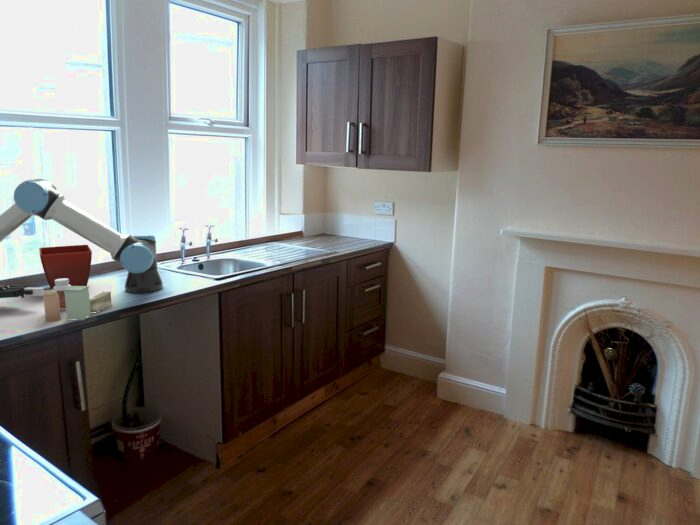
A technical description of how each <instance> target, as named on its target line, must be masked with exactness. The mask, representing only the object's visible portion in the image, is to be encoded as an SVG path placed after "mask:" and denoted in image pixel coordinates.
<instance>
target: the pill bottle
mask: <svg viewBox="0 0 700 525" xmlns="http://www.w3.org/2000/svg"><path fill="white" fill-rule="evenodd" d="M68 283H69V279H68V278H61V279H56V280H55V284H56V286H54V287H53V290H57V293H58V296H59V306H60V311H66V303H65V293H64V290H65V289H67V288H69V287H71V285H69V284H68Z"/></svg>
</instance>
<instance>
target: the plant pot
mask: <svg viewBox="0 0 700 525" xmlns="http://www.w3.org/2000/svg"><path fill="white" fill-rule="evenodd" d="M38 249H39V259H40V262H41V265H42V269H43V272H44V276H45V279H46V280H47V284H48V286H49V288H50V290H53V287H54V286H56V284H55V280H56V279H61V278H68V279H69V283H68V284H69V285H71V286H88V283H89V278H90V273H91V267H92V254H93V251H92V249H91V247H90V246H89V244H77V245H76V244H75V245H58V246H47V247H46V246H45V247H39V248H38Z"/></svg>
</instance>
